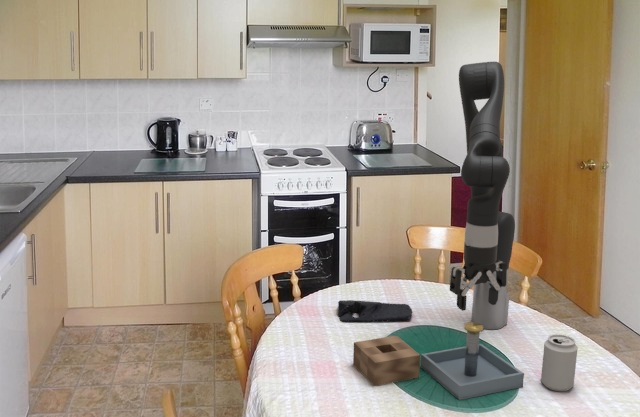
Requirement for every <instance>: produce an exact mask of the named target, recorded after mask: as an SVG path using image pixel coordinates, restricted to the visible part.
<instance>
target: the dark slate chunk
mask: <svg viewBox="0 0 640 417" xmlns="http://www.w3.org/2000/svg"><path fill="white" fill-rule="evenodd" d="M337 303H338V306H337V316H338V319H339V321H340V322H343V323H348V322H351V321H352V322H353V323H354V322H356V323H371V322H401V321H406V320H410V319H412V317H413V310H412V308H411V306H410V305H409V304H406V303H389V302H386V303H385V302H379V301H378V302H377V301H366V300H354V299H351V300H350V299H349V300H348V299H347V300H339V301H338V302H337ZM355 313H356V314H357V315H358V317H356V316H354V314H355Z"/></svg>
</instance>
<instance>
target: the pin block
mask: <svg viewBox="0 0 640 417" xmlns="http://www.w3.org/2000/svg"><path fill="white" fill-rule="evenodd" d="M352 355H353V357H352V359H353V360H352V361H353V362H352V364H353V366H354V367H355V368H356V369H357V370H358V371H359V372H360V373H361V374H362V375H363V376H364V377H365V378H366V379H367V380H368V381H369V382H370V383H371V385H373V386H374V387H377V386H383V385H388V384H392V383H397V381H399V382H403V381H402V380H404V381H409V380H413V378H415V379H419V378H420V368H421V354H420V353H419V352H417V351H416V350H415V349H414V348H412V346H410V345H409V344H408V343H406V341H404V340H403V339H402V338H400V337H399V336H398V335H390V336H384V337H379V338H373V339H366V340H361V341H354V342H353V353H352ZM418 377H419V378H418ZM408 379H409V380H408Z"/></svg>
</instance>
